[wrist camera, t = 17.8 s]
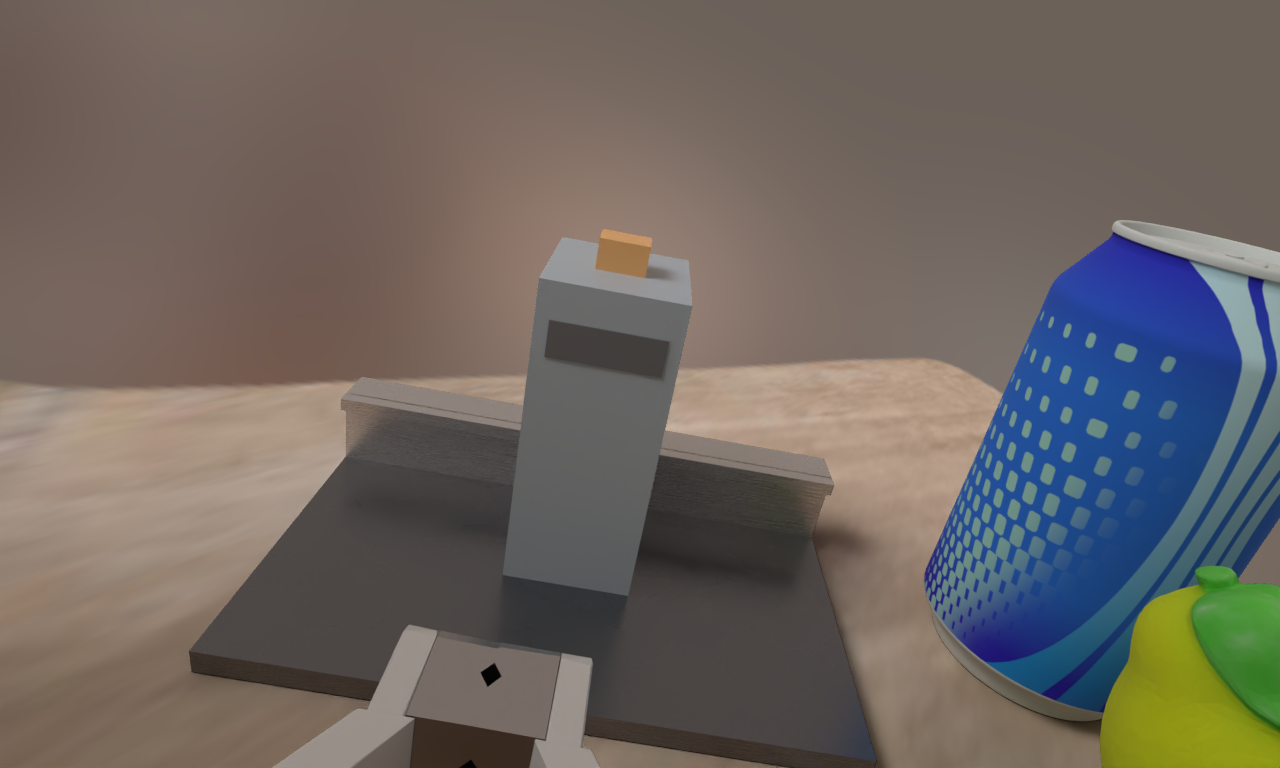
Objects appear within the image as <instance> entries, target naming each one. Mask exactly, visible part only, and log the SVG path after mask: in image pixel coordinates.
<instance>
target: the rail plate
mask: <svg viewBox="0 0 1280 768" xmlns="http://www.w3.org/2000/svg"><path fill="white" fill-rule="evenodd" d="M341 410H344V411H346V457H345V458H344V460H343V461H342V462H341V463H340V465H339V466H338V467H337V468H336V470H335V471H334V472H333V473H332V475H331V476H330V477H329V478H328V480H327V481H326V482H325V483H324V485H323V486H322V487H321V488H320V490H319V491H318V492H317V493H316V494H315V496H314V497H313V498H312V499H311V501H310V502H309V503H308V504H307V506H306V507H305V508H304V509H303V511H302V512H301V513H300V514H299V516H298V517H297V518H296V519H295V521H294V522H293V523H292V524H291V525H290V527H289V528H288V529H287V530H286V532H285V533H284V534H283V535H282V537H281V538H280V539H279V540H278V542H277V543H276V544H275V545H274V547H273V548H272V549H271V550H270V552H269V553H268V554H267V555H266V557H265V558H264V559H263V560H262V561H261V563H260V564H259V565H258V566H257V568H256V569H255V570H254V571H253V573H252V574H251V575H250V576H249V578H248V579H247V580H246V581H245V583H244V584H243V585H242V586H241V588H240V589H239V590H238V591H237V592H236V594H235V595H234V596H233V597H232V599H231V600H230V601H229V602H228V604H227V605H226V606H225V607H224V609H223V610H222V611H221V612H220V614H219V615H218V616H217V617H216V619H215V620H214V621H213V622H212V624H211V625H210V626H209V627H208V628H207V630H206V631H205V632H204V633H203V635H202V636H201V637H200V638H199V640H198V641H197V642H196V643H195V645H194V646H193V647H192V648H191V650H190V651H189V654H190V663H191V671H192V672H197V673H203V674H209V675H215V676H222V677H228V678H234V679H241V680H247V681H253V682H259V683H266V684H272V685H278V686H285V687H291V688H297V689H303V690H310V691H316V692H322V693H328V694H335V695H341V696H347V697H354V698H360V699H366V700H372V698H373V695H374V693H375V691H376V689H377V687H378V685H379V682H380V680H381V678H382V676H383V674H384V672H385V669H386V667H387V665H388V663H389V661H390V659H391V657H392V654H393V652H394V650H395V648H396V646H397V644H398V641H399V639H400V637H401V635H402V633H403V631H404V630H405V629H406V628H407V626H408V625H414V626H419V627H423V628H428V629H433V630H438V631H445V632H450V633H455V634H460V635H464V636H469V637H474V638H479V639H483V640H488V641H493V642H498V643H507V644H513V645H519V646H525V647H530V648H536V649H542V650H548V651H554V652H560V653H561V654H562V653H564V654H570V655H576V656H581V657H587V658H592V662H593V667H592V675H591V683H590V691H589V699H588V707H587V715H586V723H585V731H584V734H586V735H592V736H599V737H605V738H611V739H617V740H624V741H630V742H636V743H643V744H649V745H655V746H661V747H668V748H674V749H680V750H687V751H693V752H699V753H705V754H712V755H718V756H724V757H731V758H737V759H743V760H749V761H756V762H762V763H768V764H774V765H781V766H787V767H793V768H874V767H875V764H876V762H877V760H876V757H875V753H874V750H873V746H872V743H871V740H870V736H869V733H868V729H867V726H866V722H865V719H864V716H863V712H862V709H861V705H860V702H859V698H858V695H857V692H856V688H855V685H854V681H853V678H852V674H851V671H850V667H849V664H848V661H847V657H846V654H845V650H844V647H843V643H842V640H841V637H840V633H839V630H838V626H837V623H836V619H835V616H834V613H833V609H832V606H831V602H830V599H829V595H828V592H827V589H826V585H825V582H824V578H823V575H822V571H821V568H820V564H819V561H818V558H817V554H816V551H815V547H814V544H813V540H812V534H813V531H814V528H815V526H816V523H817V520H818V517H819V514H820V511H821V508H822V505H823V503H824V500H825V497H826V495H830V496H831V493H832V491H833V488H834V483H833V481H832V478H831V475H830V473H829V470H828V468H827V465H826V462H825V460H824V459H823V458H817V457H811V456H806V455H800V454H794V453H789V452H783V451H777V450H772V449H766V448H761V447H755V446H749V445H744V444H738V443H732V442H727V441H721V440H715V439H710V438H704V437H698V436H693V435H687V434H681V433H676V432H670V431H665V432H664V437H663V441H662V446H661V450H660V455H659V459H658V464H657V468H656V473H655V477H654V482H653V486H652V491H651V495H650V500H649V504H648V509H647V513H646V518H645V522H644V527H643V531H642V536H641V540H640V545H639V549H638V554H637V558H636V563H635V567H634V572H633V576H632V581H631V585H630V590H629V594H628V596H626V595H620V594H614V593H608V592H602V591H596V590H590V589H584V588H578V587H572V586H566V585H560V584H554V583H548V582H542V581H536V580H530V579H524V578H518V577H512V576H506V575H503V567H504V559H505V551H506V543H507V535H508V527H509V519H510V510H511V502H512V494H513V486H514V478H515V470H516V462H517V453H518V445H519V437H520V429H521V421H522V413H523V405H518V404H512V403H506V402H501V401H495V400H489V399H484V398H478V397H472V396H467V395H461V394H455V393H450V392H444V391H439V390H433V389H427V388H422V387H416V386H410V385H405V384H399V383H393V382H388V381H382V380H376V379H371V378H365V377H361V378H360V379H359V380H358V381H357V382H356V384H355V385H354V386H353V387H352V388H351V389H350V390H349V391H348V392H347V393H346V394H345V395H344V396H343V397H342V398H341Z"/></svg>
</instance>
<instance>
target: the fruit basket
mask: <svg viewBox="0 0 1280 768" xmlns="http://www.w3.org/2000/svg"><path fill="white" fill-rule="evenodd" d="M1195 574H1196V578H1197V580H1198V583H1199V585H1195V586H1191V587H1186V588H1182V589H1179V590H1176V591H1174V592H1171V593H1168V594H1165V595H1161V596H1159V597H1157V598H1155V599H1153V600H1152V601H1151V602H1150V603H1149V604H1147V605H1146V606H1145V607H1144V609H1143V610H1142V611H1141V613H1140V614H1139V616H1138V618H1137V621H1136V623H1135V626H1134V629H1133V634H1132V639H1131V645H1130V655H1129V659H1128V662H1127V664H1126V666H1125V667H1124V669H1123V671H1122V672H1121V674H1120V676H1119V677H1118V679H1117V680H1116V682H1115V684H1114V686H1113V688H1112V690H1111V693H1110V695H1109V698H1108V700H1107V703H1106V706H1105V710H1104V714H1103V718H1102V725H1101V733H1100V753H1101V762H1102V768H1280V586H1276V585H1271V584H1265V583H1262V584H1241V583H1240V582H1239V580H1238V577H1237V575H1236V573H1235V572H1234V571H1233V570H1232V569H1230V568H1227V567H1224V566H1204V567H1199V568H1197V569H1196V570H1195Z"/></svg>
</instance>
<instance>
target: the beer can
mask: <svg viewBox="0 0 1280 768" xmlns="http://www.w3.org/2000/svg"><path fill="white" fill-rule="evenodd" d="M1112 231H1113V234H1112V236H1111V237H1110V238H1109V239H1108V240H1107V241H1105V242H1104V243H1103V244H1101V245H1100V246H1099V247H1097V248H1096V249H1095V250H1093V251H1092V252H1090V253H1089V254H1088V255H1087V256H1085V257H1084V258H1082V259H1081V260H1080V261H1079V262H1077V263H1076V264H1074V265H1073V266H1071V267H1070V268H1069V269H1067V270H1066V271H1065V272H1063V273H1062V274H1061V275H1060V276H1058V278H1057V279H1056V280H1055V281H1054V283H1053V284H1052V286H1051V288H1050V290H1049V292H1048V295H1047V297H1046V299H1045V301H1044V304H1043V306H1042V308H1041V310H1040V313H1039V315H1038V317H1037V319H1036V322H1035V324H1034V326H1033V328H1032V331H1031V333H1030V335H1029V337H1028V340H1027V343H1026V344H1025V347H1024V349H1023V351H1022V353H1021V356H1020V358H1019V360H1018V362H1017V365H1016V367H1015V369H1014V372H1013V374H1012V376H1011V378H1010V381H1009V383H1008V385H1007V387H1006V390H1005V392H1004V394H1003V396H1002V398H1001V401H1000V403H999V405H998V408H997V410H996V412H995V414H994V417H993V419H992V421H991V423H990V426H989V428H988V430H987V432H986V435H985V437H984V439H983V441H982V444H981V446H980V448H979V450H978V453H977V455H976V457H975V460H974V462H973V464H972V466H971V469H970V471H969V473H968V475H967V478H966V480H965V482H964V484H963V487H962V489H961V491H960V493H959V496H958V498H957V500H956V502H955V505H954V507H953V509H952V512H951V514H950V516H949V518H948V521H947V523H946V525H945V527H944V530H943V532H942V534H941V536H940V539H939V541H938V543H937V545H936V548H935V550H934V552H933V554H932V557H931V559H930V561H929V563H928V566H927V568H926V571H925V576H924V587H925V592H926V596H927V599H928V601H929V604H930V606H931V608H932V617H933V621H934V624H935V627H936V630H937V632H938V634H939V636H940V638H941V639H942V641H943V643H944V644H945V645H946V647H947V648H948V650H949V651H950V652H951V653H952V654H953V656H954V657H955V658H956V659H957V660H958V661H959V662H960V663H961V664H962V665H963V666H964V667H965V668H966V669H967V670H968V671H969V672H970V673H972V674H973V675H974V676H975V677H976V678H978V679H979V680H980V681H982V682H983V683H984V684H986V685H987V686H988V687H990V688H991V689H993V690H994V691H996V692H998V693H999V694H1001V695H1002V696H1004V697H1006V698H1008V699H1010V700H1011V701H1013V702H1015V703H1017V704H1019V705H1021V706H1023V707H1026V708H1028V709H1030V710H1033V711H1035V712H1038V713H1041V714H1044V715H1047V716H1051V717H1054V718H1059V719H1063V720H1070V721H1093V720H1099V719H1102V718H1103V714H1104V710H1105V706H1106V703H1107V700H1108V698H1109V695H1110V693H1111V690H1112V688H1113V686H1114V684H1115V682H1116V680H1117V679H1118V677H1119V676H1120V674H1121V672H1122V671H1123V669H1124V667H1125V666H1126V664H1127V662H1128V659H1129V655H1130V645H1131V639H1132V634H1133V629H1134V626H1135V623H1136V621H1137V618H1138V616H1139V614H1140V613H1141V611H1142V610H1143V609H1144V607H1145V606H1146V605H1147V604H1149V603H1150V602H1151V601H1152V600H1153V599H1155V598H1157V597H1159V596H1161V595H1165V594H1168V593H1171V592H1174V591H1176V590H1179V589H1182V588H1186V587H1191V586H1195V585H1199V583H1198V580H1197V578H1196V574H1195V570H1196V569H1197V568H1199V567H1204V566H1224V567H1227V568H1230V569H1232V570H1233V571H1234V572H1235V573H1236V575H1237V577H1238V578H1239V577H1240V575H1241V574H1242V572H1243V571H1244V569H1245V568H1246V566H1247V565H1248V563H1249V562H1250V561H1251V559H1252V558H1253V556H1254V555H1255V553H1256V552H1257V550H1258V549H1259V547H1260V546H1261V544H1262V543H1263V542H1264V540H1265V539H1266V537H1267V536H1268V534H1269V533H1270V531H1271V530H1272V528H1273V527H1274V525H1275V524H1276V522H1277V521H1278V519H1279V518H1280V253H1279V252H1275V251H1271V250H1267V249H1264V248H1260V247H1256V246H1252V245H1248V244H1244V243H1240V242H1236V241H1232V240H1228V239H1223V238H1219V237H1215V236H1210V235H1206V234H1201V233H1197V232H1192V231H1188V230H1183V229H1178V228H1173V227H1167V226H1162V225H1157V224H1151V223H1145V222H1138V221H1129V220H1119V221H1116V222H1115V223H1114V224H1113V226H1112Z"/></svg>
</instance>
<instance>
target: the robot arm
mask: <svg viewBox="0 0 1280 768" xmlns="http://www.w3.org/2000/svg"><path fill="white" fill-rule="evenodd" d="M592 667H593V662H592V658H587V657H581V656H576V655H570V654H564V653H562V654H561V653H560V652H554V651H548V650H542V649H536V648H530V647H525V646H519V645H513V644H507V643H498V642H493V641H488V640H483V639H479V638H474V637H469V636H464V635H460V634H455V633H450V632H445V631H438V630H433V629H428V628H423V627H419V626H414V625H408V626H407V628H406V629H405V630H404V631H403V633H402V635H401V637H400V639H399V641H398V644H397V646H396V648H395V650H394V652H393V654H392V657H391V659H390V661H389V663H388V665H387V667H386V669H385V672H384V674H383V676H382V678H381V680H380V682H379V685H378V687H377V689H376V691H375V693H374V695H373V698H372V700H371V702H370V704H369V706H368V708H367V709H360V708H357V709H355V710H354V711H352V712H351V713H350V714H348V715H347V716H345V717H344V718H342V719H341V720H339V721H338V722H337V723H335V724H334V725H332V726H331V727H329V728H328V729H327V730H325V731H324V732H322V733H321V734H319V735H318V736H316V737H315V738H314V739H312V740H311V741H309V742H308V743H306V744H305V745H304V746H302V747H301V748H299V749H298V750H296V751H295V752H293V753H292V754H291V755H289V756H288V757H286V758H285V759H283V760H282V761H280V762H279V763H278V764H276V765H275V766H273V767H272V768H601V767H600V765H599V763H598V761H597V759H596V757H595V755H594V753H593V751H592V750H591V749H587V748H582V747H583V739H584V731H585V723H586V715H587V707H588V699H589V691H590V683H591V675H592Z"/></svg>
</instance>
